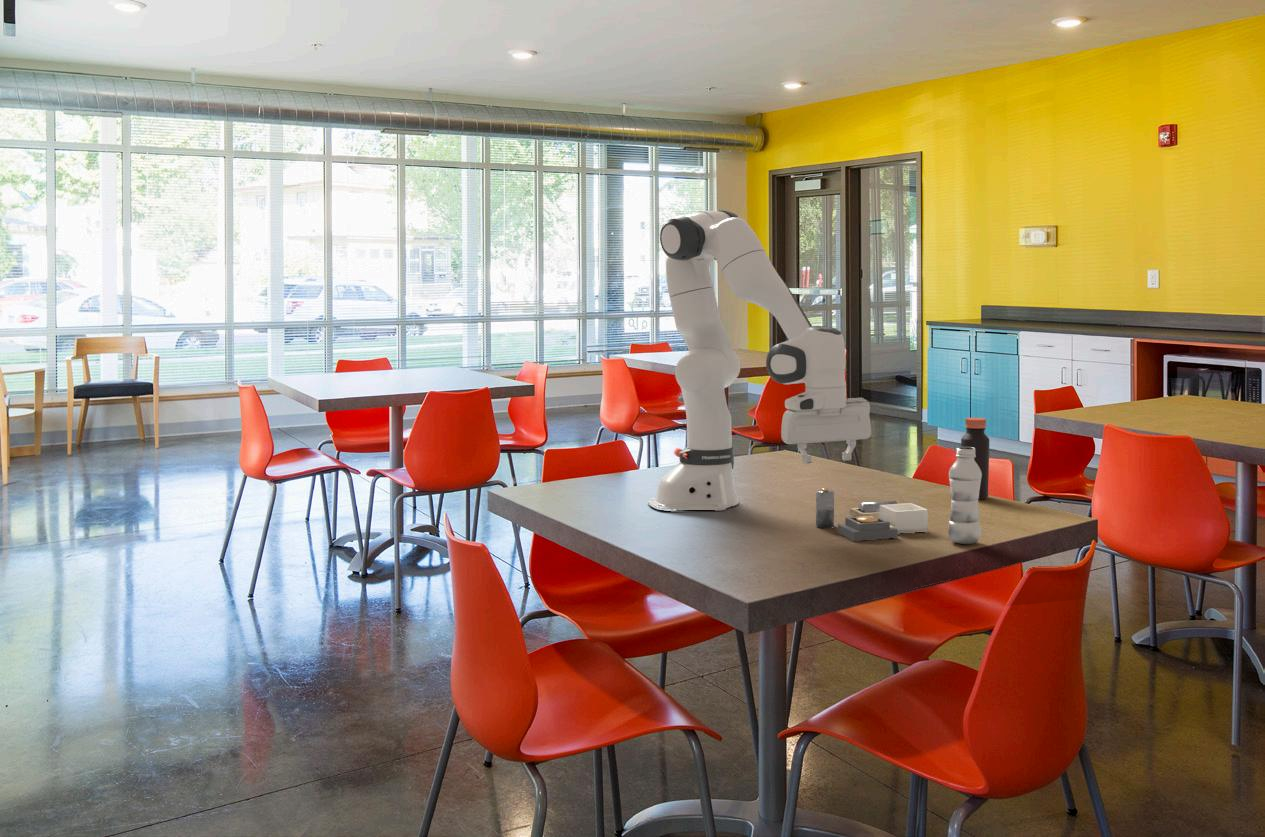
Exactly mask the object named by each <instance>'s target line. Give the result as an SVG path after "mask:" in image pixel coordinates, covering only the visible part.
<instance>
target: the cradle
mask: <svg viewBox="0 0 1265 837" xmlns="http://www.w3.org/2000/svg"><path fill="white" fill-rule="evenodd" d="M875 517H877V516H875ZM856 519H857V517H850V516H848V517H847V516H846V517H845V521H844V522H845V523H838V524H837V534H838V533H839V534H838V535H840V534H841V535H840V536H842V535H843V537H844V536H845V537H844V538H846V539H848V540H850V539H851V540H850V541H852V542H854V541H855V542H863V541H862V540H868V541H878V540H877V539H882V540H890V539H889V538H895V539H898V534H897V529H896V528H894V527H893V526H891V525H890V522H888V521H886V520H884V519H882V518H880V517H878V522H874V523H859V522H857V521H856Z"/></svg>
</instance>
